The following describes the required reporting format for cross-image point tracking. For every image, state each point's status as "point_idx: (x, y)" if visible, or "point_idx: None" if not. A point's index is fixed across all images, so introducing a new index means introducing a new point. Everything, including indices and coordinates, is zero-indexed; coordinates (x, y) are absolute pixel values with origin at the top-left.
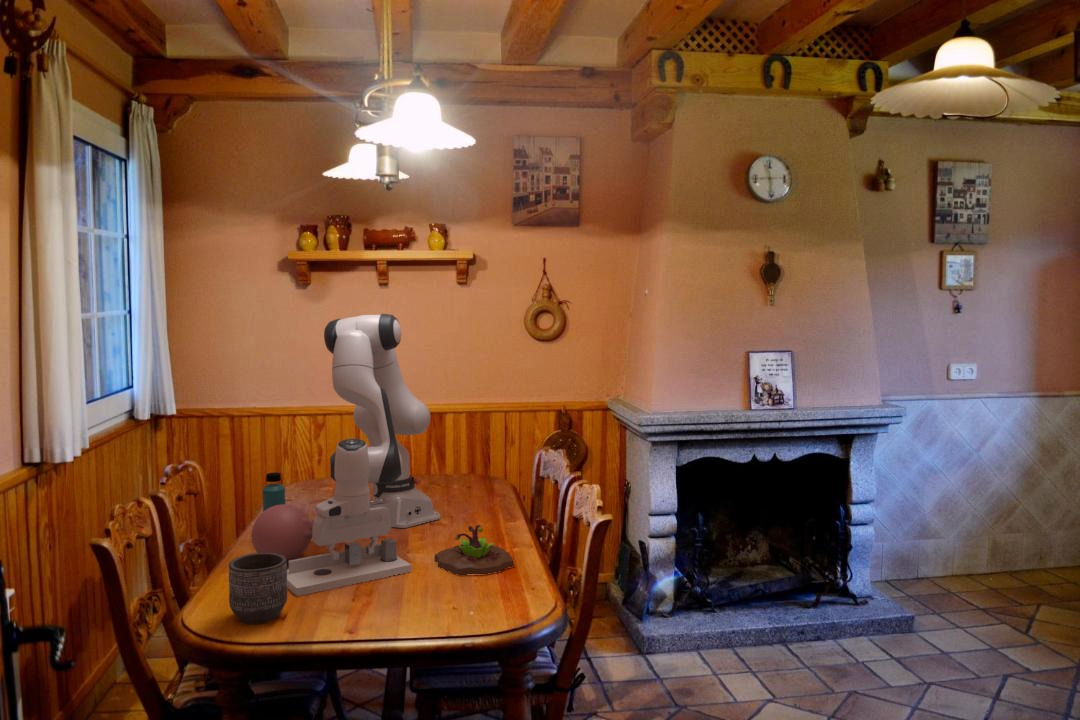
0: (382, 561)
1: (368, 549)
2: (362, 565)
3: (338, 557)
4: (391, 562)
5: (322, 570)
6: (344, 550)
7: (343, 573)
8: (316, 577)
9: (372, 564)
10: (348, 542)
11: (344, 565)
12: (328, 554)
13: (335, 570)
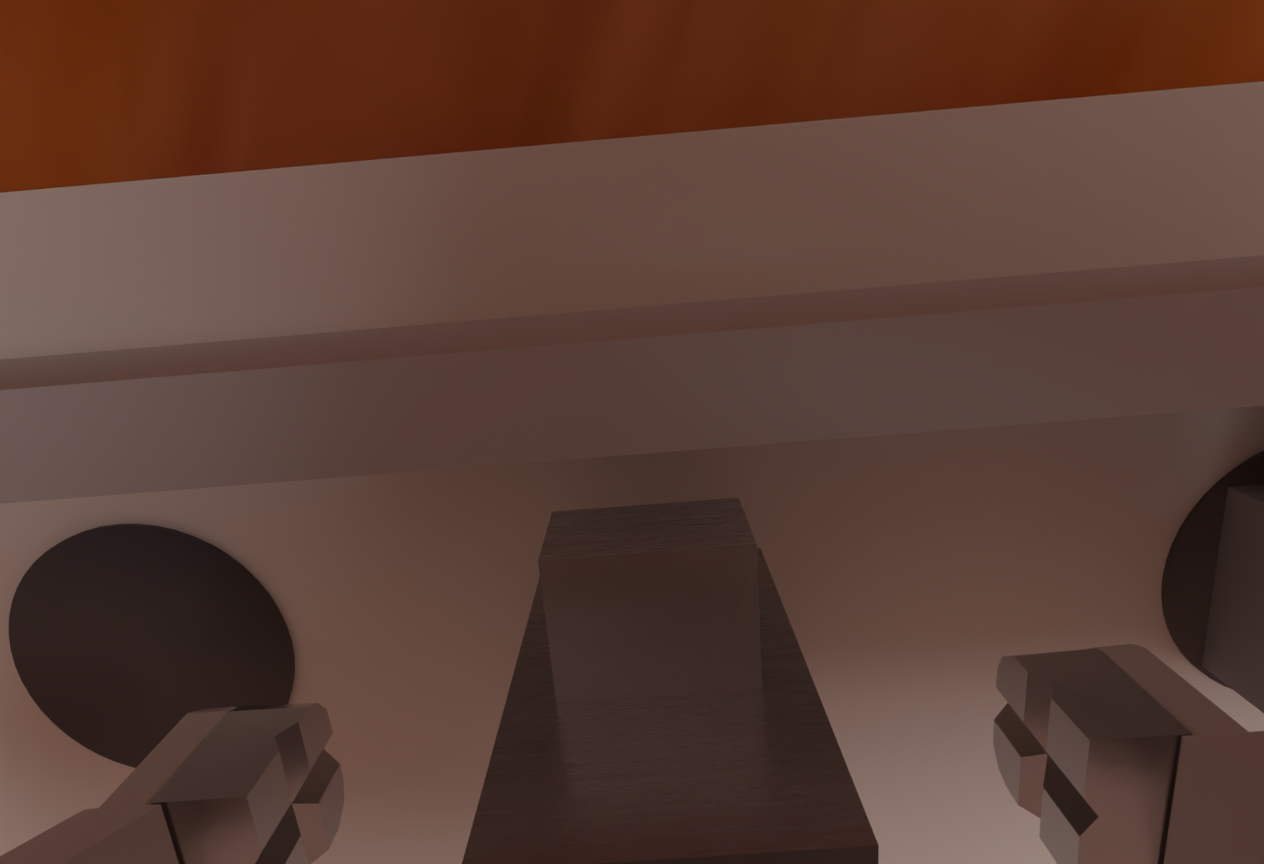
0: (1162, 620)
1: (1049, 839)
2: (806, 642)
3: (313, 852)
4: (1250, 718)
5: (155, 590)
6: (594, 363)
7: (439, 816)
8: (45, 797)
9: (959, 674)
10: (594, 858)
11: (547, 512)
12: (160, 469)
13: (356, 662)
